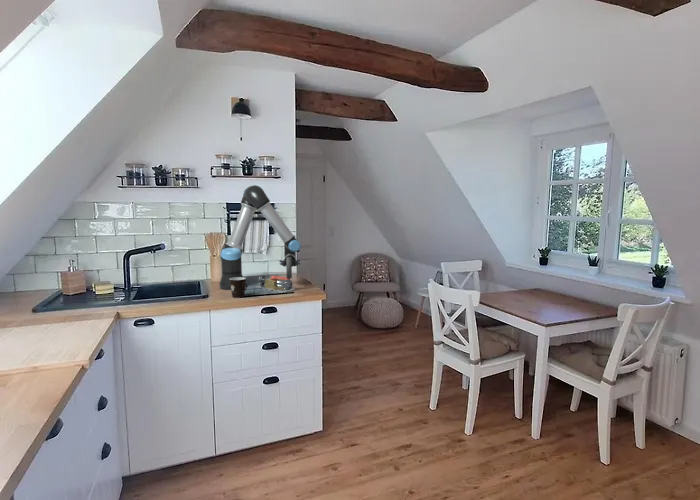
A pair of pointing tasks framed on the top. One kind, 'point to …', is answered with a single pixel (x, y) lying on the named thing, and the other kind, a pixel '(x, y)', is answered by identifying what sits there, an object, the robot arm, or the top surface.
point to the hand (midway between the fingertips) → (289, 266)
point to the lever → (288, 269)
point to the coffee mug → (238, 287)
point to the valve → (274, 284)
